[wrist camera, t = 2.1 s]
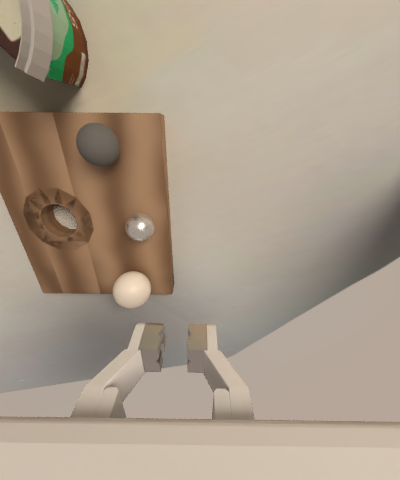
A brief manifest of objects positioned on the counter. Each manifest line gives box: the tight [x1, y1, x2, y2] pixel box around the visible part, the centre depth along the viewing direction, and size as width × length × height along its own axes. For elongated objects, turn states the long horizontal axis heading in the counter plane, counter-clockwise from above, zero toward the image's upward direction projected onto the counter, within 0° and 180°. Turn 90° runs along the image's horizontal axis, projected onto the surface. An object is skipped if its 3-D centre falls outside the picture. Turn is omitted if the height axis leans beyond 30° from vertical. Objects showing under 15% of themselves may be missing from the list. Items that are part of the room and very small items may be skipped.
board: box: [0, 112, 174, 294], centre depth 28 cm, size 20×24×2 cm
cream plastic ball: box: [113, 271, 151, 309], centre depth 28 cm, size 5×5×5 cm
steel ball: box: [125, 213, 155, 242], centre depth 25 cm, size 4×4×4 cm
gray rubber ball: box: [76, 123, 120, 167], centre depth 21 cm, size 4×4×4 cm
